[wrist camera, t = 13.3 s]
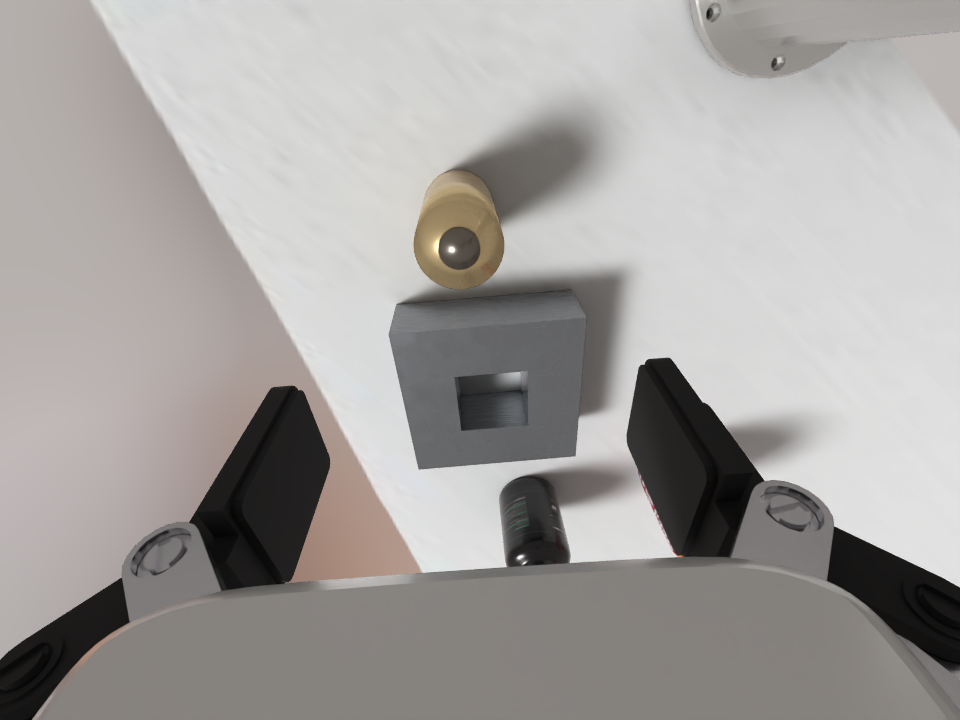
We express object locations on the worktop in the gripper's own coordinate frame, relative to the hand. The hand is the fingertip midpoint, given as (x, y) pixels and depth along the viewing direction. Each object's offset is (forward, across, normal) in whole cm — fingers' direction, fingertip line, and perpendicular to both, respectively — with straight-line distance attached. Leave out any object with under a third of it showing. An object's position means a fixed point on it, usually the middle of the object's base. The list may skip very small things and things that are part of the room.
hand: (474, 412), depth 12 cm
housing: (+23, -1, +16) cm, 28 cm away
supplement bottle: (+24, -4, +34) cm, 42 cm away
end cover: (+24, +1, 0) cm, 24 cm away
